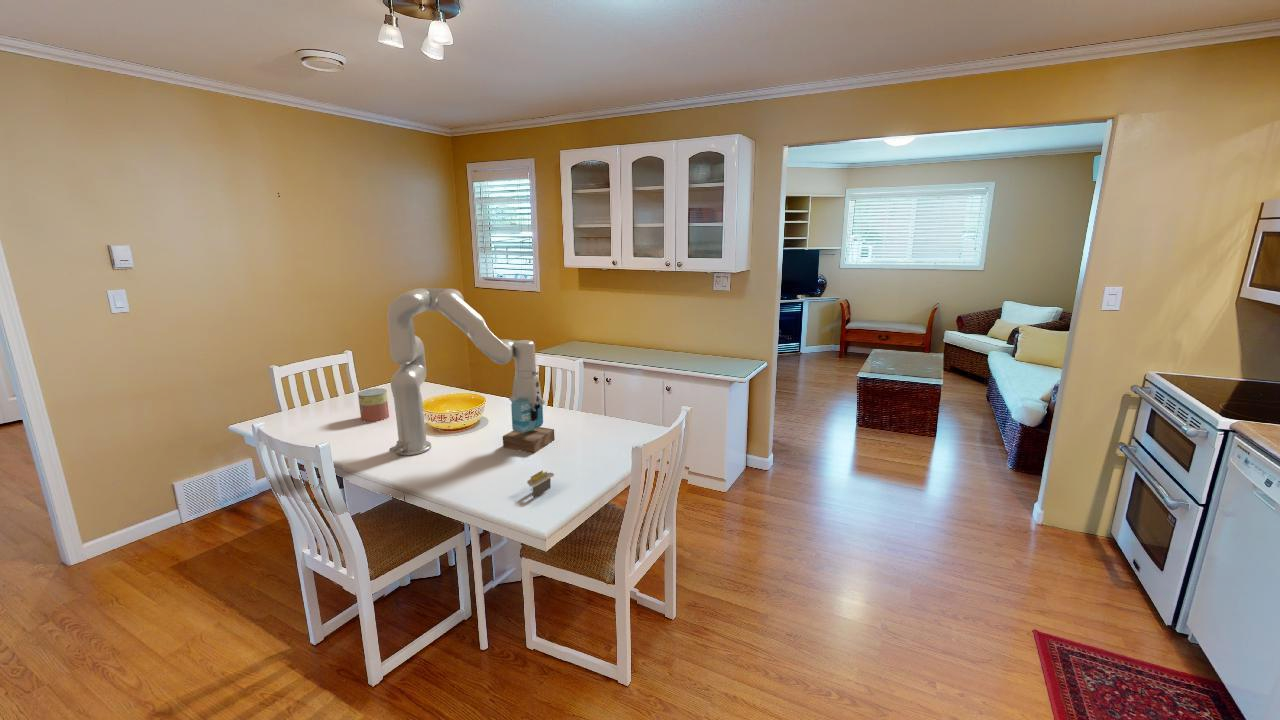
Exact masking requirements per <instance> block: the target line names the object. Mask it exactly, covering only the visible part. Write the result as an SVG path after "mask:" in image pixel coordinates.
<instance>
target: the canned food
mask: <svg viewBox="0 0 1280 720" xmlns="http://www.w3.org/2000/svg"><path fill="white" fill-rule="evenodd" d="M387 391H388V390H387V389H385V388H378V387H377V388H376V387H375V388H369V389H363V390H361V391H359V392H357V395H358V397H357V398H358V403H359V413H360V414H359V415H360V421H361V420H362V421H365V422H364V423H366V422H373V423H377V422H376V421H380V422H382V421H381V420H383V421H385V420H384V419H386V420H388V419H390V413H389V401H388V395H387V393H388V392H387ZM387 418H388V419H387ZM362 421H361V422H362Z"/></svg>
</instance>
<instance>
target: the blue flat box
mask: <svg viewBox="0 0 1280 720" xmlns="http://www.w3.org/2000/svg"><path fill="white" fill-rule="evenodd" d="M537 403H538V404H539V401H537ZM543 405H544V404H543ZM543 405H542V406H541V407H540V408H539V409H538V418H537V420H535V421H532V416H531V412H532V411H533V410H532V407H531V404H529V403H528V401H525V400H515V401H513V402H511V406H510V407H511V408H510V409H511V425H512V426H511V427H512V431H513V430H514V431H517V432H520V433H525V432H527V431H530V430H532V429H535V428H537V427H543V426H542V425H544V424H543V423H544V411H543V409H544V408H543V407H544V406H543Z"/></svg>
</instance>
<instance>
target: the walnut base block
mask: <svg viewBox="0 0 1280 720" xmlns="http://www.w3.org/2000/svg"><path fill="white" fill-rule="evenodd" d="M554 440H556V439H555V429H553V428H549V427H543V426H540V427H537V428H535V429H532V430H530V431H527V432H525V433H520V432H517V431H514V430H513V429H512V431H510V432H507V433H506V434H504V435H502V447H504V448H503V449H509V450H513V449H514V451H519V450H520V452H524V451H526V452H525V453H529V452H530V453H531V454H536V453H538V452H539V451H541V450H542V449H544V448H545V447H547V446H549V445H550V444H552V443H553V442H554ZM552 441H553V442H552ZM549 443H550V444H549ZM540 449H541V450H540ZM530 453H529V454H530Z"/></svg>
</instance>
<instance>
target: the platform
mask: <svg viewBox="0 0 1280 720" xmlns="http://www.w3.org/2000/svg"><path fill="white" fill-rule="evenodd" d="M554 476H555V474H554V473H553V472H548V471H547V470H546V471H544V470H543V469H542V470H541V471H538V472H537V473H535V474H533V475H531V476H530V479H529V480H527V481H526V484H527V485H529V487H531V489H532V494H533V495H532V496H533V498H536V497H537V496H539V495H541V494H542V493H544V492H546V491H547V490H549V489H551V488H550V487H551V478H553V477H554ZM545 490H546V491H545ZM540 493H541V494H540ZM535 496H536V497H535Z"/></svg>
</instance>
